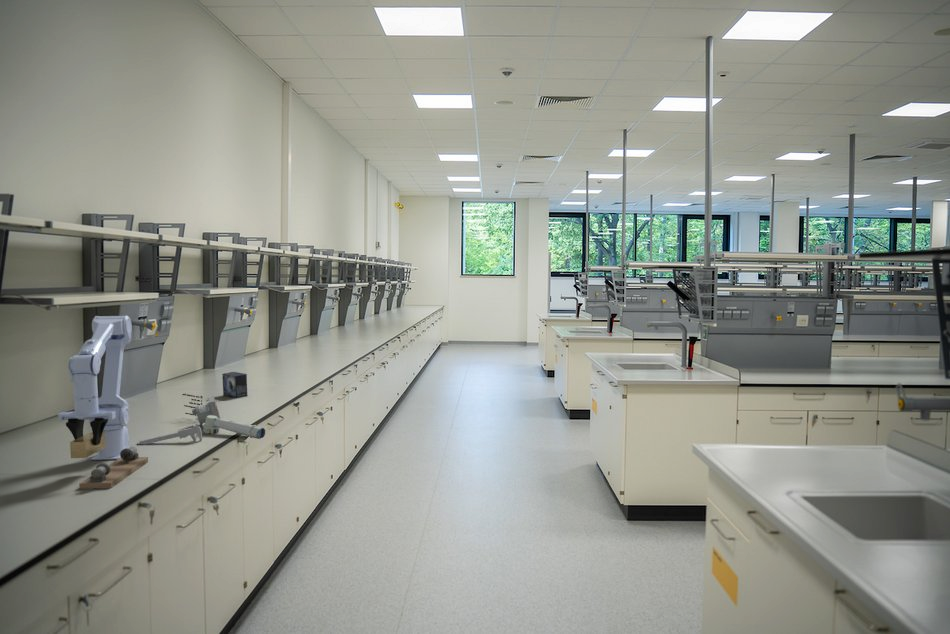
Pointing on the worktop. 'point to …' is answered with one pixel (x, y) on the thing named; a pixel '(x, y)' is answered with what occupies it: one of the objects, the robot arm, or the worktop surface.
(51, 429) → the worktop surface
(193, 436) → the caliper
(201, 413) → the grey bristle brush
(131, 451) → the shaft cradle
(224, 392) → the small box
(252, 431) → the blue-tipped grey rod
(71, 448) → the coupling block
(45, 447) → the worktop surface
